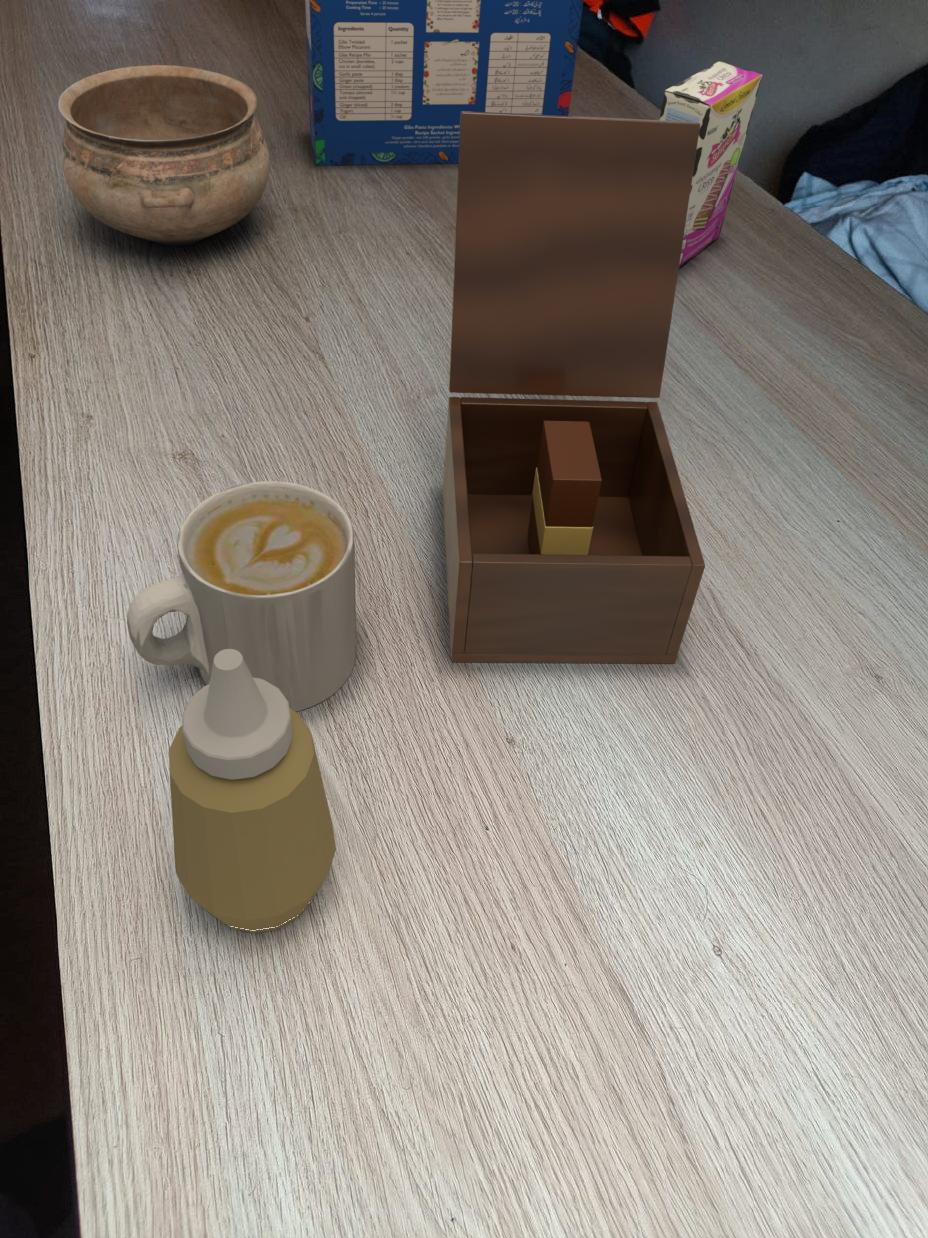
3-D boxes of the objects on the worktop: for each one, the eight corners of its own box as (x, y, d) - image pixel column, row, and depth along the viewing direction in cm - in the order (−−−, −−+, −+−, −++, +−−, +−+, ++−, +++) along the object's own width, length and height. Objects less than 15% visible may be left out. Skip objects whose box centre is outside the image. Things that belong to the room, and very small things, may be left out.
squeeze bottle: (167, 845, 58) (108, 616, 45) (311, 801, 60) (294, 571, 47) (204, 978, 53) (149, 763, 40) (358, 923, 55) (354, 704, 42)
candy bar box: (672, 278, 105) (711, 104, 93) (628, 261, 106) (661, 88, 95) (723, 238, 111) (765, 71, 99) (680, 222, 113) (717, 57, 101)
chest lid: (700, 123, 65) (683, 114, 69) (461, 112, 64) (457, 103, 67) (659, 398, 74) (646, 377, 78) (449, 392, 73) (446, 371, 76)
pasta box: (546, 132, 127) (579, -151, 107) (562, 161, 122) (600, -132, 102) (310, 135, 122) (298, -161, 102) (316, 165, 117) (304, -141, 97)
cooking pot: (286, 289, 99) (277, 156, 90) (72, 299, 95) (41, 162, 86) (263, 171, 115) (254, 49, 106) (81, 176, 112) (56, 51, 103)
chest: (675, 663, 69) (705, 565, 63) (451, 662, 68) (459, 562, 62) (635, 498, 81) (657, 401, 74) (442, 495, 80) (448, 396, 73)
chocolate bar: (569, 536, 76) (590, 420, 69) (579, 596, 72) (602, 480, 65) (526, 535, 76) (542, 419, 69) (534, 596, 72) (552, 479, 64)
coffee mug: (340, 588, 72) (336, 471, 65) (370, 699, 66) (370, 583, 58) (136, 617, 69) (108, 498, 62) (147, 737, 63) (117, 620, 55)
